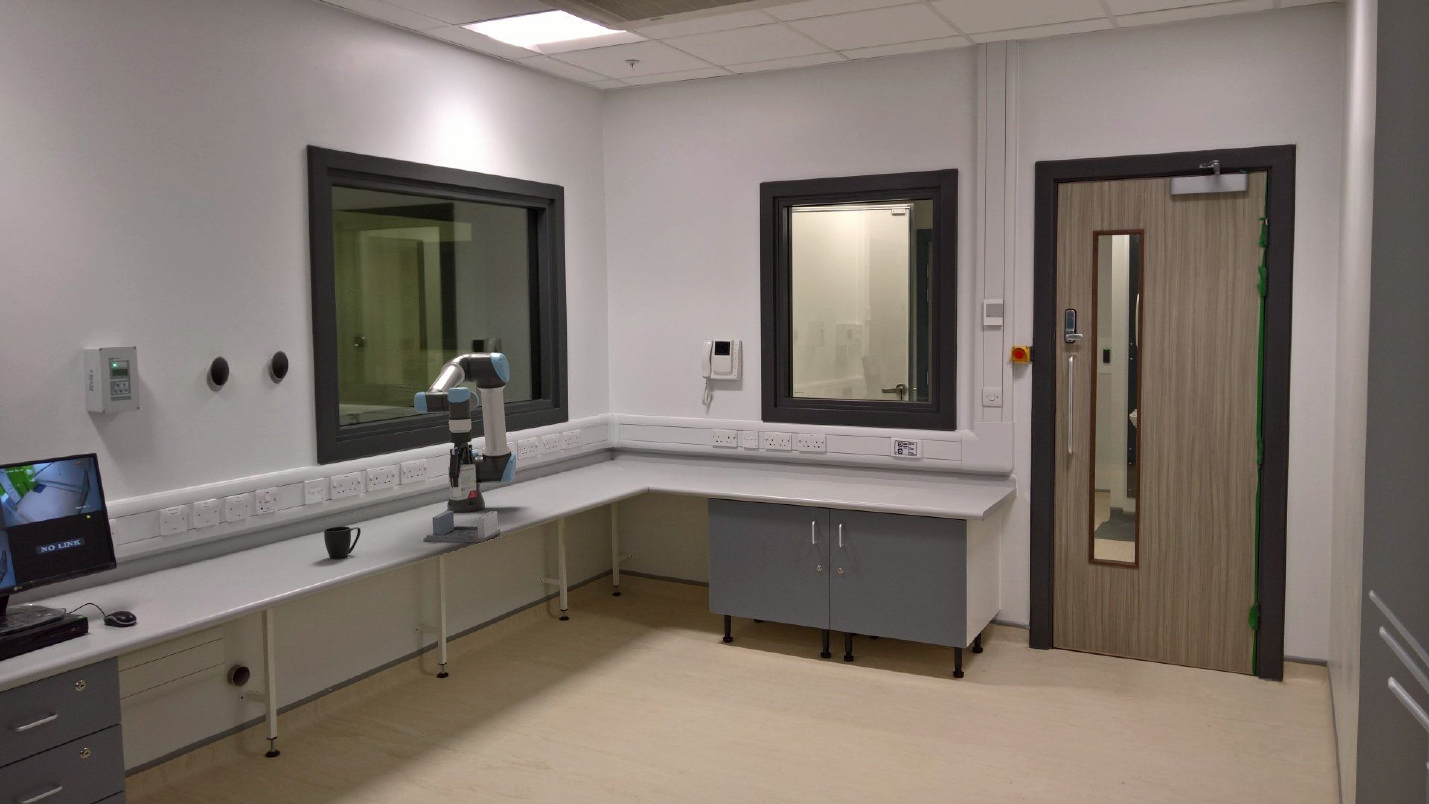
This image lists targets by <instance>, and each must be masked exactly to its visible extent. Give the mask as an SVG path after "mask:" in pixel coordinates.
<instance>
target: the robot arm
mask: <svg viewBox="0 0 1429 804" xmlns="http://www.w3.org/2000/svg"><path fill="white" fill-rule="evenodd" d="M510 377H511V375H510V366H509V362H508V359H507V357H506V355H505V354H503V352H502V353H501V352H477V353H476V352H475V353H473V352H472V353H467V352H466V353H463V354H458V355H457V356H454V357H453V358H451V359H450V360H448V361H446V362H445V364H443V365H442V367H441V369H440V371H439V375H438V376H437V378H436V379H435V380H434V382H433V383H432V384H431V386H430V387H429V388H428V389H427V391H421V392H416V394H415V395H414V399H413V404H414V409H415V411H416V413H418V414H419V413H421V414H422V413H423V414H435V413H436V414H437V413H440V414H441V413H448V425H449V431H450V432H449V442H450V443H451V444H454V446H453V448H450V449H449V453H450V454H449V467H450V468H449V472H448V479H449V478H452V482H453V496H461V478H459V475H460V469H461V465H465V464H474V465H475V470H476V492H477V497H473V498H468V499H463V500H452V499H450V496H449V497H448V500H447V505H446V509H447V510H446V511H453V513H468V512H476V511H481V510H484V509H485V508H486V501H485V499H484V496H483V494H482V490H481V484H505V483H511V482H512V481H513V480H514V477H515V474H516V471H517V455H516V454H514V453H512V449H511V447H509V446H508V441H507V431H506V430H507V428H506V418H505V417H506V416H505V403H504V391H503V390H504V389H505V388H506V386H507V383H508V382H509V381H510ZM462 383H476V384H475V385H476V388H477V389H478V390H479V391H480V394H481V395H480V397H481V398H480V399H481V407H482V419H483V420H482V421H483V431H484V443H485V448H484V449H483V450H482V451H481V452H482V453H481V454H480V453H479V451H476V450H475V451H474V450H473V444H471V442H472V441H473V438H472V431H470V430H472V416H471V412H472V411H474V410H475V409H476V408H478V406H479V404H480V403H479V402H480V399H479V396H478V394H477V393H476V392H474V391H472V390H470V388H469V387H466V386H462V387H457V386H459V385H461V384H462Z"/></svg>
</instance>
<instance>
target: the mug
mask: <svg viewBox="0 0 1429 804" xmlns="http://www.w3.org/2000/svg"><path fill="white" fill-rule="evenodd" d="M353 530H356V531H357V533H356V536H355V539H354V541H353V543H352V545H351V542H352V531H353ZM360 535H361V528H360V527H359V526H358V527H357V526H356V527H349V526H333V527H328V528H325V529H324V530H323V538H324V540H323V541H324V545H325V548H326V552H327V555H328V557H329V559H331V560H342V559H346V558H348V556H349V555H350V554H351V553H352V552H353V550H354V549H355V547H356V545H357V543H358V541H359V538H360Z"/></svg>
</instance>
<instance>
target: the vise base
mask: <svg viewBox="0 0 1429 804" xmlns="http://www.w3.org/2000/svg"><path fill="white" fill-rule="evenodd" d="M476 520H477V526H472V525H471V526H465V525H464V526H459V525H457V526H456V525H454V530H452V531H450V532H448V533H446V534H444V535H433V533H431V534H426V535H425V537H423V539H422V540H423V542H425V543H426V542H433V543H438V542H439V543H441V542H442V543H484V542H486V541H488V540H490V539H492V538H493V537H495V536H497V535H498V534H500V533H501V529H500V528H499V526H498V525H499V523H498V511H491V510H490V511H489V512H486V513H484V514H482V515H481V516H479V517H477V519H476Z"/></svg>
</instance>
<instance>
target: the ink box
mask: <svg viewBox="0 0 1429 804" xmlns="http://www.w3.org/2000/svg"><path fill="white" fill-rule="evenodd" d="M447 468H448V473H449V468H450V466H448V467H447ZM459 478H461V496H453V482H452V478H449V477H448V487H449V489H448V491H449V497H450V499H452V500H463V499H468V498H473V497H477V492H476V470H475V465H474V464H465V465H461V469H460V475H459Z"/></svg>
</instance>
